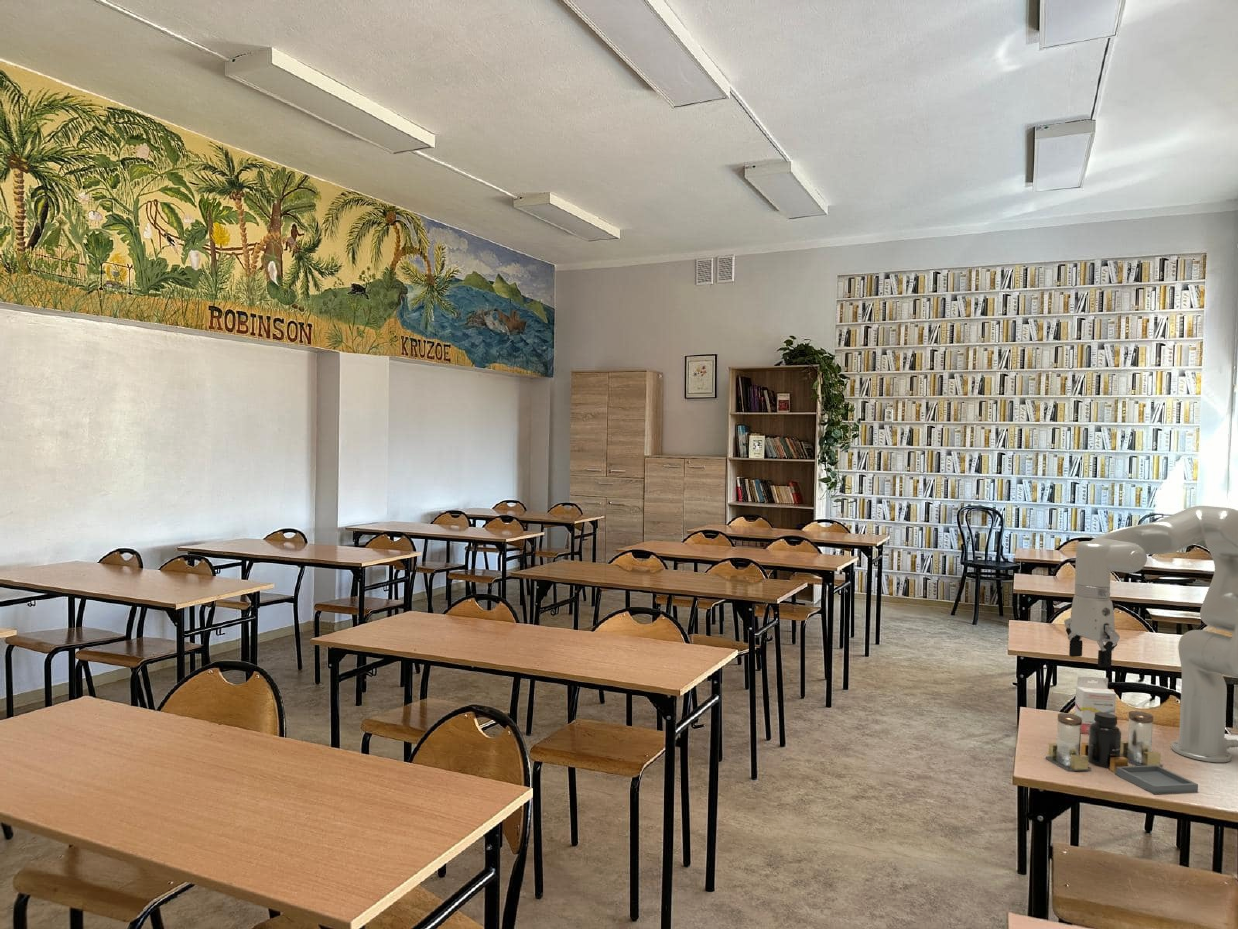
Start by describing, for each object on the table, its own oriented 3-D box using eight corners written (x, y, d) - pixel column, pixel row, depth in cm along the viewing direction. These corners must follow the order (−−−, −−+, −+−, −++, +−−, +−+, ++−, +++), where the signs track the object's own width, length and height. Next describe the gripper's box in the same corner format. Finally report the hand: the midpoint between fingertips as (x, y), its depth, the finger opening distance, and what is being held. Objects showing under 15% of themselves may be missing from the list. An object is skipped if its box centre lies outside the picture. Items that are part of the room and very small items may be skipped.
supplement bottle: (1120, 770, 200) (1122, 721, 200) (1087, 764, 203) (1089, 716, 203) (1119, 761, 206) (1121, 713, 206) (1087, 756, 209) (1089, 708, 209)
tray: (1156, 772, 199) (1157, 765, 199) (1197, 792, 188) (1198, 784, 188) (1115, 774, 197) (1115, 767, 197) (1154, 794, 186) (1154, 786, 186)
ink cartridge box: (1081, 734, 226) (1083, 680, 225) (1073, 728, 231) (1075, 675, 230) (1114, 736, 225) (1117, 682, 225) (1105, 730, 230) (1108, 677, 230)
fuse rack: (1131, 753, 212) (1134, 707, 212) (1167, 769, 201) (1169, 721, 201) (1041, 756, 208) (1043, 709, 207) (1072, 774, 197) (1075, 724, 196)
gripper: (1133, 598, 196) (1130, 670, 196) (1080, 586, 213) (1078, 652, 213) (1104, 599, 194) (1102, 671, 195) (1054, 586, 212) (1052, 653, 212)
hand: (1089, 661), depth 204 cm, fingers open, 9 cm apart
